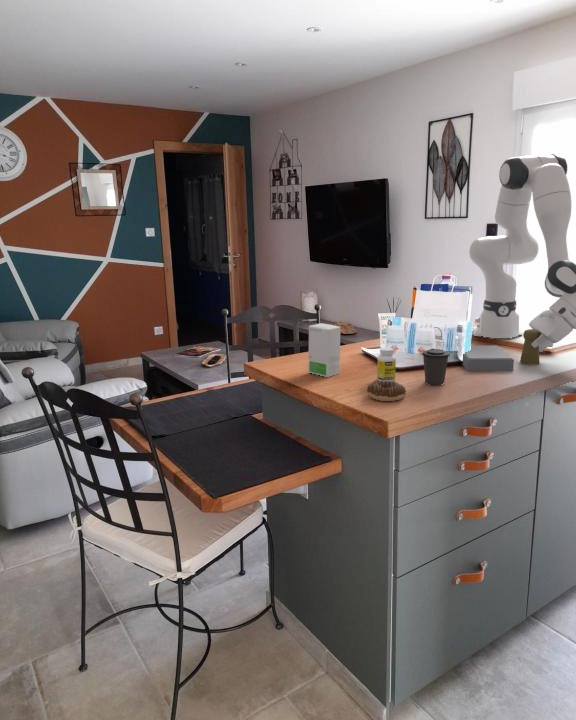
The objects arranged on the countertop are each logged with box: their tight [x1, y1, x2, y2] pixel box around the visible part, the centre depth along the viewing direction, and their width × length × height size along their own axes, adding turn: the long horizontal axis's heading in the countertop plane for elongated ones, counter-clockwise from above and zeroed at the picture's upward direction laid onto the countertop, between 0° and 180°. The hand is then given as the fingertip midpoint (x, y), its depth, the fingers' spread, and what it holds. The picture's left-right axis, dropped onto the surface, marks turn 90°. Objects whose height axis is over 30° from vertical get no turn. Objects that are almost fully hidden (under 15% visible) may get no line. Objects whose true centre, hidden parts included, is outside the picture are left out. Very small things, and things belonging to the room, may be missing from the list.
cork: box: [519, 328, 541, 366], centre depth 183 cm, size 6×6×11 cm
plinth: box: [462, 345, 515, 372], centre depth 185 cm, size 18×14×4 cm
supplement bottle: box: [376, 346, 397, 382], centre depth 169 cm, size 5×5×10 cm
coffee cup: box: [421, 348, 451, 386], centre depth 165 cm, size 8×8×10 cm
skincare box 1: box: [307, 323, 341, 378], centre depth 177 cm, size 8×7×16 cm
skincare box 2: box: [539, 340, 554, 353], centre depth 199 cm, size 6×6×7 cm
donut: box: [366, 380, 407, 402], centre depth 155 cm, size 11×11×4 cm
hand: (529, 343), depth 183 cm, fingers closed on cork, 5 cm apart
